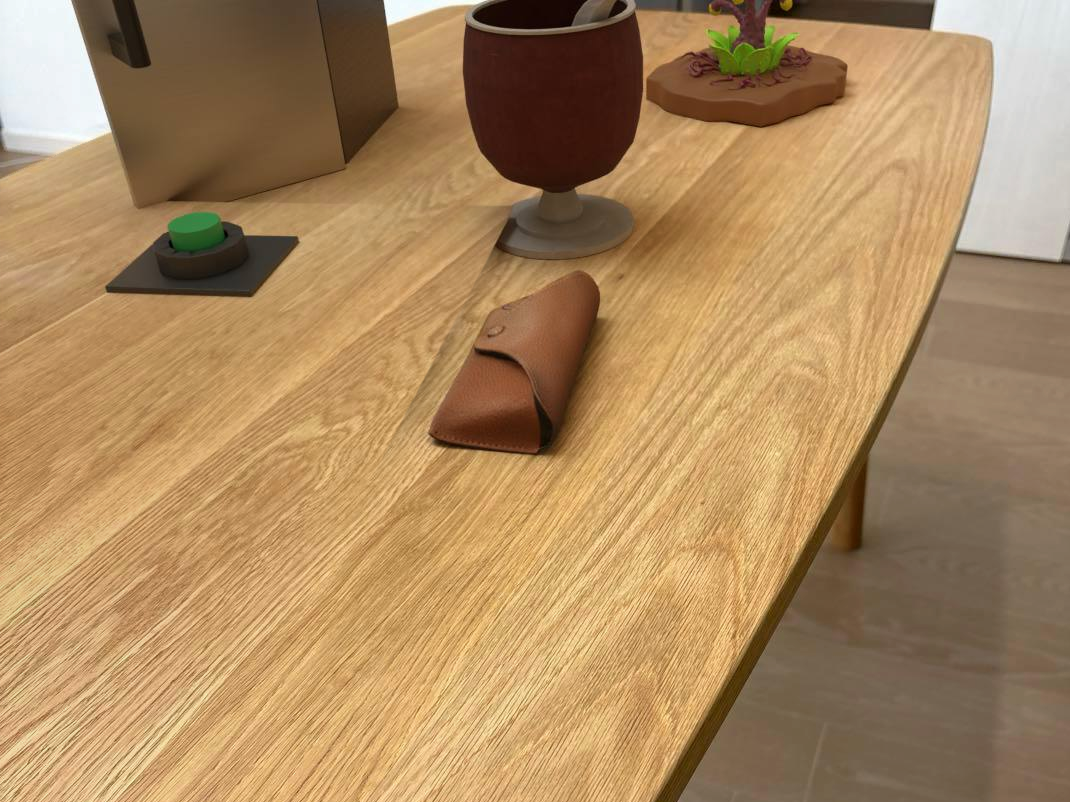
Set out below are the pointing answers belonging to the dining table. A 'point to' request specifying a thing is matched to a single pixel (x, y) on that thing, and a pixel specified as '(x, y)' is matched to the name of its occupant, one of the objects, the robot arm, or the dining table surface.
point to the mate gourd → (555, 114)
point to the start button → (196, 231)
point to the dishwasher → (358, 68)
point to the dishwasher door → (213, 95)
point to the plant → (747, 74)
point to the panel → (205, 266)
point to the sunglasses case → (521, 370)
